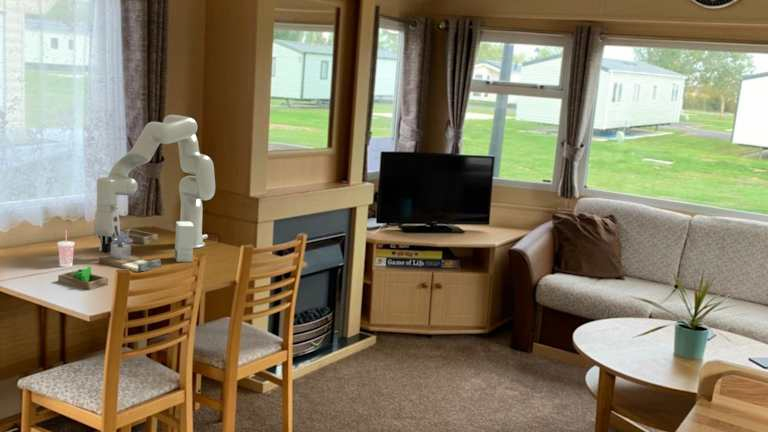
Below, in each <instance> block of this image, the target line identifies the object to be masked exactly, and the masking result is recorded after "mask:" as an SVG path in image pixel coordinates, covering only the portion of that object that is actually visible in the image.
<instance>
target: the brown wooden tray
mask: <svg viewBox="0 0 768 432" xmlns="http://www.w3.org/2000/svg"><path fill="white" fill-rule="evenodd" d="M75 273H78V269H77V270H73V271H70V272H64V273H62V274H58V275H57V280H58V281H57V282H58V283H62V284H66V285H70V286H73V287H77V288H82V289H85V290H88V291H90V290H93V289H94V290H95V289H97V288H101V286H102V287H105V286H108V285H109V278H108V277H105V276H101V275H98V274H97V275H96V274H93V273H91V274H90V281H89V282H88V281H82V285H81V280H80V279H76V275H75ZM104 285H105V286H104Z"/></svg>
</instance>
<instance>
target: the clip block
mask: <svg viewBox="0 0 768 432" xmlns="http://www.w3.org/2000/svg"><path fill="white" fill-rule="evenodd" d="M110 255H111V258H114V259H118V260H123V259H127V258H131V255H132V245H126V244H124V243H122V242H120V243H118V244H115V245H111V252H110Z"/></svg>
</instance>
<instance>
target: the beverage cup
mask: <svg viewBox="0 0 768 432" xmlns="http://www.w3.org/2000/svg"><path fill="white" fill-rule="evenodd" d="M67 238H68V230H67V229H66V230H65V240H62V241H58V242H57V246H58V259H59V266H60V267H64V268H65V267H66V268H68V267H72V266H73V263H74V248H75V243H76V242H74V241H70V240H68V239H67Z"/></svg>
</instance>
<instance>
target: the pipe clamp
mask: <svg viewBox="0 0 768 432" xmlns="http://www.w3.org/2000/svg"><path fill="white" fill-rule="evenodd" d="M77 271H78V273H75V275H76V279H80V280H81V285H82V281H88V282H91V281H90V274H92V266H87V267H86V269H85V268H78V269H77Z"/></svg>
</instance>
